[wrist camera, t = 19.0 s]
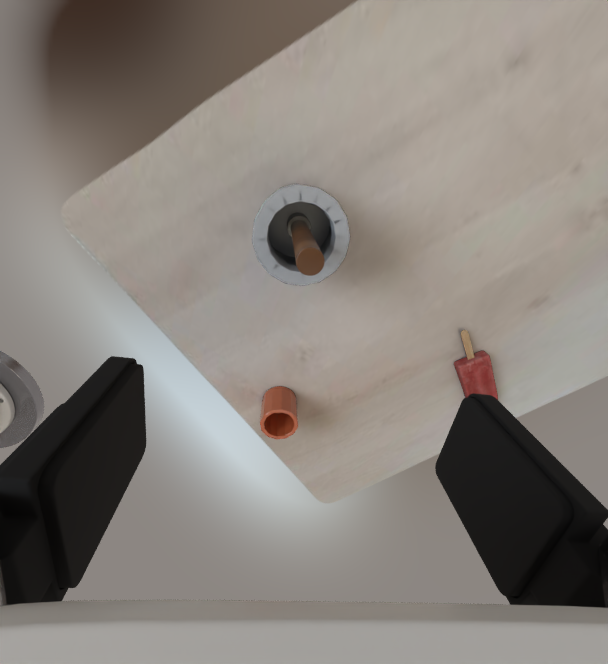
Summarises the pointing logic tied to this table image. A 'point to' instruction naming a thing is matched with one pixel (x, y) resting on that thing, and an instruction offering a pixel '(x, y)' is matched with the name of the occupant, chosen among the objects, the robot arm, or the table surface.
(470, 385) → the popsicle
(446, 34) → the table surface
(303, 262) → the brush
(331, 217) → the grey hollow cylinder
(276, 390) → the pen cup
